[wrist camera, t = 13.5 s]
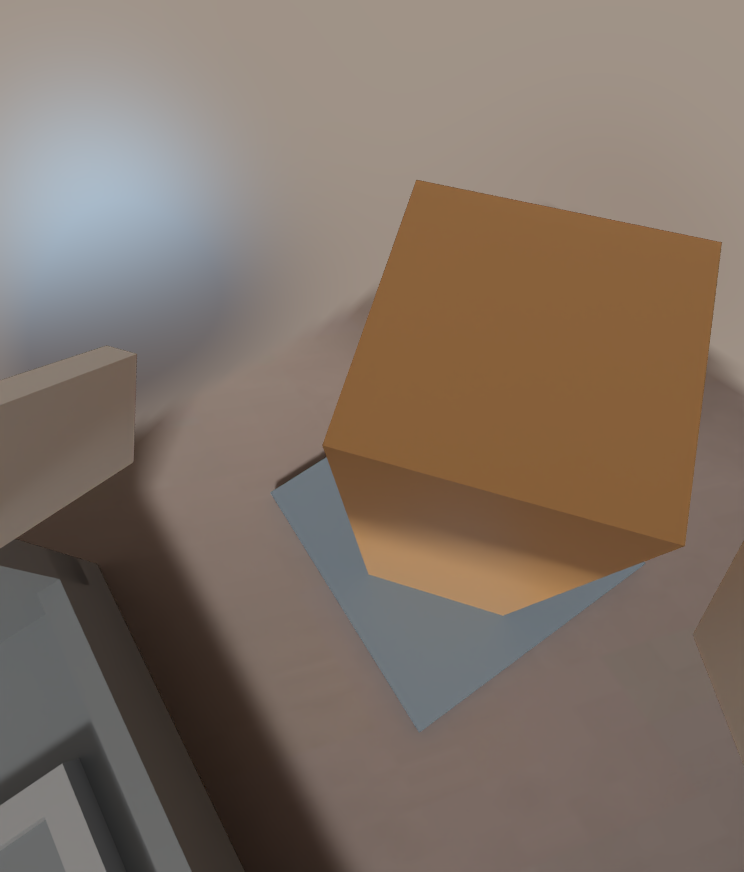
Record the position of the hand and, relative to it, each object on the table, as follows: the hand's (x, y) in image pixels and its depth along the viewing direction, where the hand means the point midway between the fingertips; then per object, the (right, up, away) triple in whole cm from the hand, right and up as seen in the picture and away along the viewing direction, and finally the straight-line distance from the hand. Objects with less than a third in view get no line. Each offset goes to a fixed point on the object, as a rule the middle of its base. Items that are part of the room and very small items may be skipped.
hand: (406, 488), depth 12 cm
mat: (+2, -2, +10) cm, 11 cm away
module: (+2, -2, +9) cm, 10 cm away
